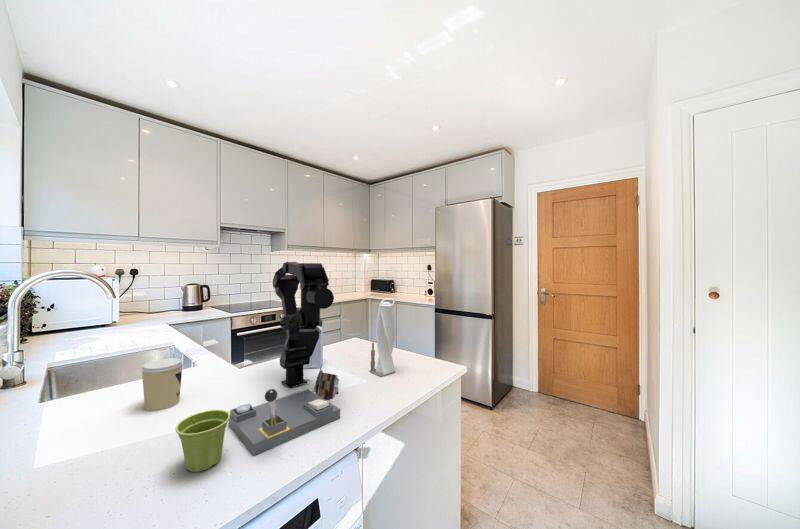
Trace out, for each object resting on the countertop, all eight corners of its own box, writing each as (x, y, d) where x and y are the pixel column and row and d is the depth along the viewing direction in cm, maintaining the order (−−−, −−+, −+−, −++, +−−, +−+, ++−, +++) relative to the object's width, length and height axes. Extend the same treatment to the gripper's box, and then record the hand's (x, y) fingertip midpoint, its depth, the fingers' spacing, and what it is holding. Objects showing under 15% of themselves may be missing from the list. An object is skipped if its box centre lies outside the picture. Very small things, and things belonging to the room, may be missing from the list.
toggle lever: (269, 420, 70) (265, 386, 66) (281, 419, 71) (278, 386, 67) (267, 430, 68) (262, 396, 64) (279, 429, 68) (275, 395, 64)
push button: (234, 411, 75) (234, 407, 75) (247, 407, 77) (247, 403, 77) (238, 416, 73) (238, 411, 73) (251, 411, 75) (251, 407, 75)
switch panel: (228, 424, 76) (228, 407, 76) (308, 397, 91) (308, 382, 91) (253, 456, 64) (253, 435, 64) (340, 418, 79) (340, 401, 79)
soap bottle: (296, 370, 114) (297, 310, 114) (299, 363, 121) (300, 307, 120) (321, 368, 115) (321, 309, 115) (322, 362, 122) (323, 307, 122)
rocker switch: (308, 406, 79) (307, 402, 79) (318, 402, 81) (318, 398, 82) (317, 410, 76) (317, 405, 76) (328, 405, 78) (328, 401, 78)
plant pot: (168, 485, 55) (168, 438, 55) (182, 454, 64) (182, 414, 64) (226, 471, 59) (226, 427, 59) (232, 444, 68) (232, 406, 68)
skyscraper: (386, 366, 119) (387, 296, 118) (400, 372, 113) (401, 298, 112) (369, 371, 113) (370, 298, 113) (382, 378, 107) (383, 300, 107)
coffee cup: (186, 404, 86) (186, 362, 86) (143, 416, 79) (143, 371, 79) (178, 394, 92) (179, 355, 92) (139, 404, 86) (139, 362, 85)
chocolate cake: (339, 403, 89) (344, 365, 97) (315, 399, 87) (323, 361, 95) (331, 414, 95) (337, 377, 104) (308, 410, 93) (317, 373, 102)
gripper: (287, 300, 98) (287, 348, 98) (276, 310, 80) (275, 368, 80) (322, 300, 100) (322, 346, 100) (319, 309, 82) (318, 365, 82)
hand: (310, 355), depth 90 cm, fingers closed
